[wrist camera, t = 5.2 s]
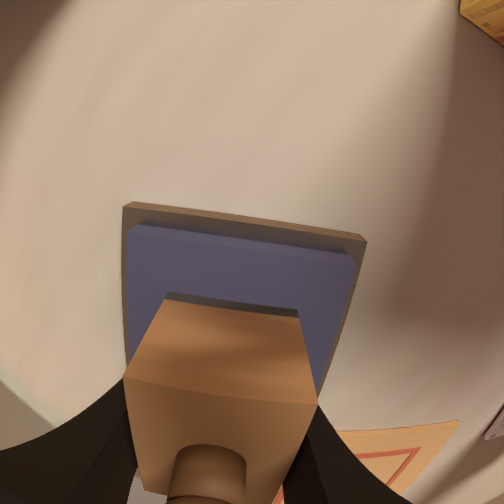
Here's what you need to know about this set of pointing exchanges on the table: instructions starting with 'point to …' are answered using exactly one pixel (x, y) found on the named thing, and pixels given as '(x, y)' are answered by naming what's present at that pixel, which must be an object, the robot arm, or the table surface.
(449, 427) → the card board
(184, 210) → the ink pad
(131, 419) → the stamp
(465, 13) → the candy box
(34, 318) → the table surface
